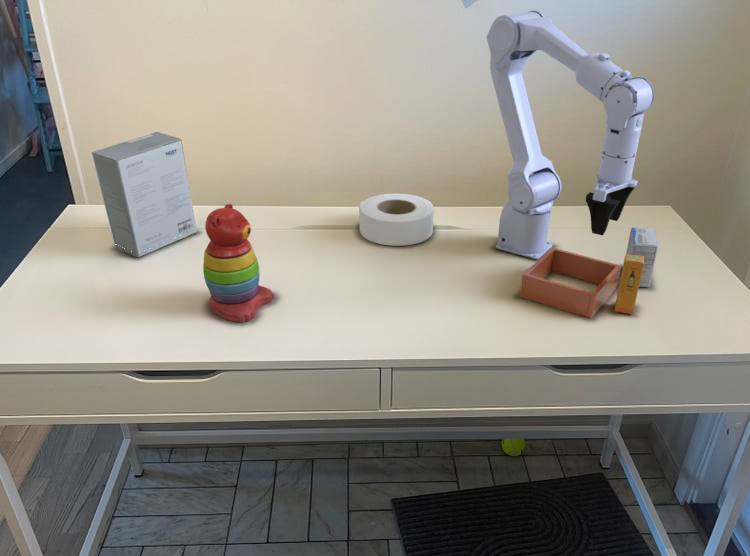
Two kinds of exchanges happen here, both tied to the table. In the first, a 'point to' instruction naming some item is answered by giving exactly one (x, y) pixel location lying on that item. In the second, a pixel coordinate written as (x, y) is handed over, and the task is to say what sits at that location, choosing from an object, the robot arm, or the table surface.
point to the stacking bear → (232, 267)
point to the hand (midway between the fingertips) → (605, 226)
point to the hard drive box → (146, 192)
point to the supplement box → (629, 283)
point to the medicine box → (644, 251)
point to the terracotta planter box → (567, 295)
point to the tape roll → (396, 219)
